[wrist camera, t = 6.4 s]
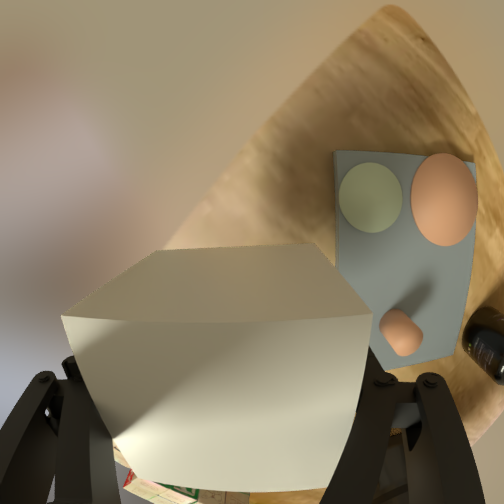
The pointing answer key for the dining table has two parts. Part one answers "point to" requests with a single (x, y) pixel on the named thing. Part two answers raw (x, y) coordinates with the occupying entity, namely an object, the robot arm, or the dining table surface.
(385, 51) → the dining table surface
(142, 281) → the plain off-white box
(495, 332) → the supplement bottle
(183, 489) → the stack of blocks
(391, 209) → the board
